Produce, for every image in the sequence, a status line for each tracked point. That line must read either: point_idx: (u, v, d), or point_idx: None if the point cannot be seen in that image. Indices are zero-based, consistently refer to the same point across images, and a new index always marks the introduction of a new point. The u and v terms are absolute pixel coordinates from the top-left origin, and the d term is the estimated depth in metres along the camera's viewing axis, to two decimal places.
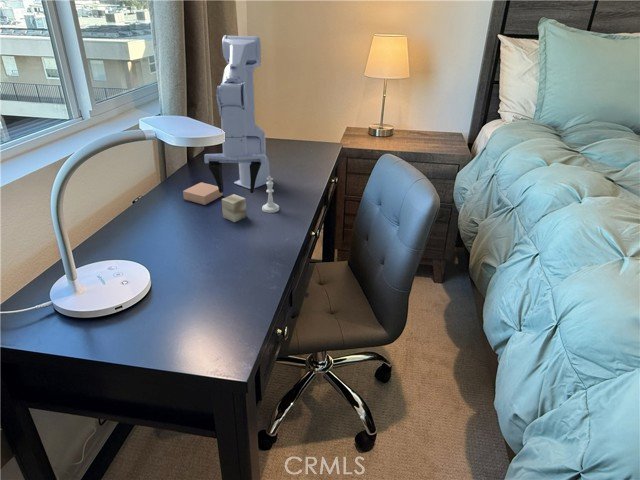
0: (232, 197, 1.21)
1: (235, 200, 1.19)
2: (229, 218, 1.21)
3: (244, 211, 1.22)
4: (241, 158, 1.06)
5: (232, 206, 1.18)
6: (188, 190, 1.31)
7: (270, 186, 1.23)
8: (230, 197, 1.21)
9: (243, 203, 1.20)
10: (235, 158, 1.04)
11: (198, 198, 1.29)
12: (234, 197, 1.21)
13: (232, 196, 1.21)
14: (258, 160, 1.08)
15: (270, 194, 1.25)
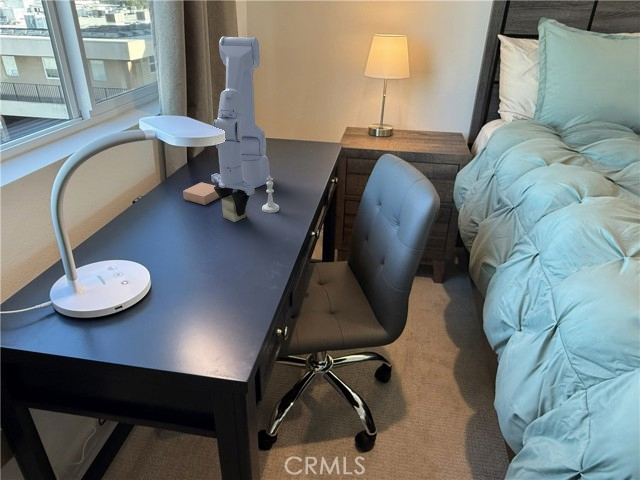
0: None
1: None
2: (229, 218, 1.20)
3: None
4: (229, 186, 1.15)
5: (232, 206, 1.18)
6: (188, 190, 1.31)
7: (270, 186, 1.23)
8: (230, 197, 1.20)
9: None
10: (222, 186, 1.14)
11: (198, 198, 1.29)
12: None
13: None
14: None
15: (270, 194, 1.25)
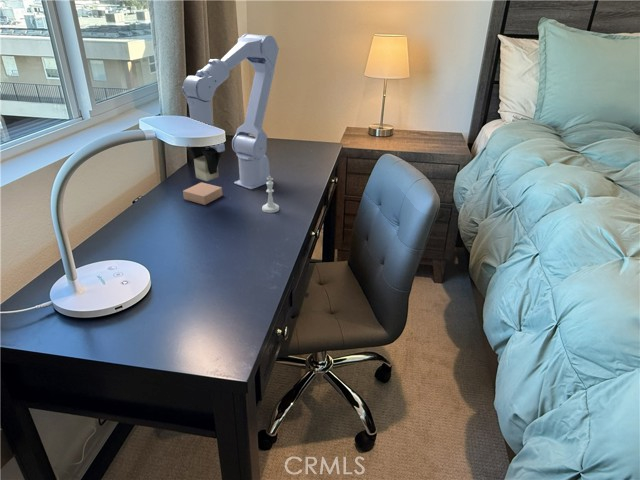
0: (204, 157, 1.25)
1: None
2: (201, 177, 1.25)
3: None
4: None
5: (203, 165, 1.22)
6: (188, 190, 1.31)
7: (270, 186, 1.23)
8: (202, 157, 1.25)
9: None
10: None
11: (198, 198, 1.29)
12: None
13: (204, 156, 1.26)
14: (217, 148, 1.19)
15: (270, 194, 1.25)
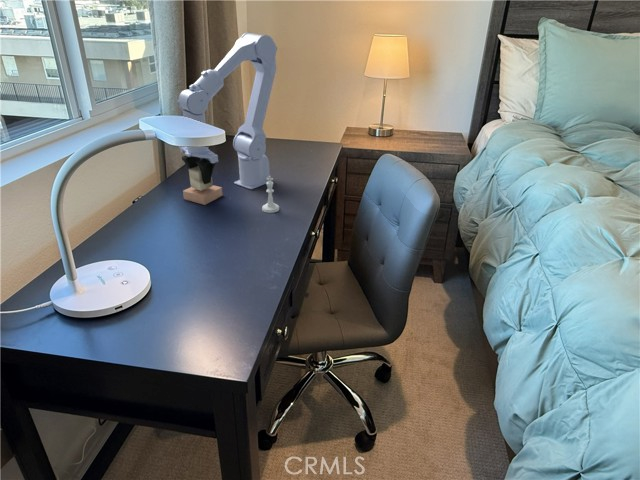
0: (198, 167, 1.30)
1: None
2: (196, 187, 1.30)
3: None
4: (195, 155, 1.24)
5: (197, 175, 1.27)
6: (188, 190, 1.31)
7: (270, 186, 1.23)
8: (196, 167, 1.30)
9: None
10: (188, 155, 1.24)
11: (198, 198, 1.29)
12: None
13: (198, 166, 1.31)
14: None
15: (270, 194, 1.25)
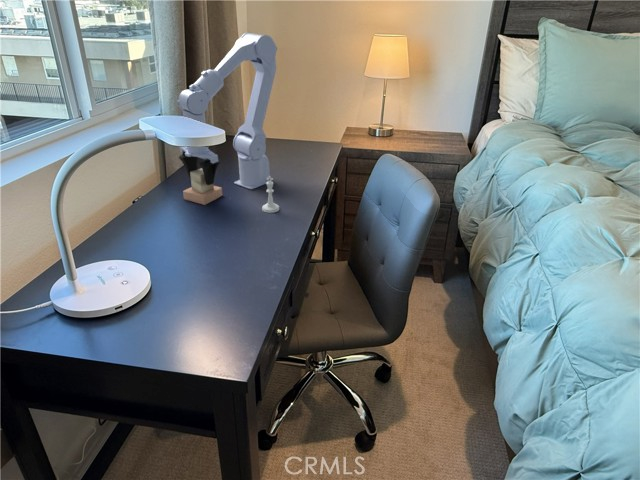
0: (200, 170, 1.31)
1: (202, 172, 1.29)
2: (197, 189, 1.30)
3: None
4: (195, 155, 1.24)
5: (199, 178, 1.28)
6: (188, 190, 1.31)
7: (270, 186, 1.23)
8: (198, 170, 1.30)
9: None
10: (188, 155, 1.24)
11: (198, 198, 1.29)
12: (202, 170, 1.30)
13: (200, 169, 1.31)
14: None
15: (270, 194, 1.25)
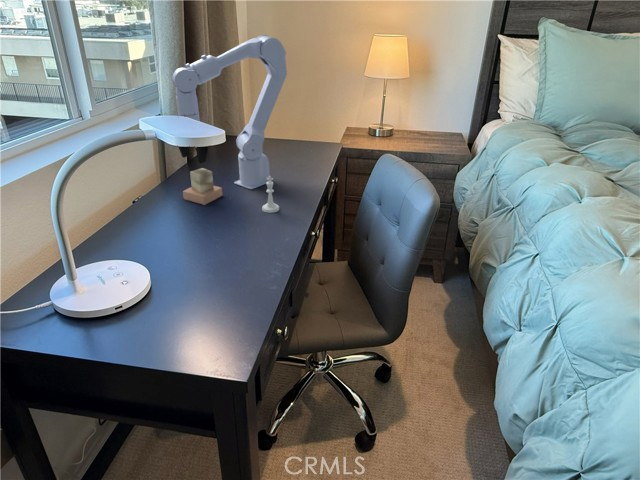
0: (200, 170, 1.31)
1: (202, 172, 1.29)
2: (196, 189, 1.30)
3: (211, 183, 1.31)
4: None
5: (198, 178, 1.28)
6: (188, 190, 1.31)
7: (270, 186, 1.23)
8: (198, 170, 1.30)
9: (209, 176, 1.30)
10: None
11: (198, 198, 1.29)
12: (202, 170, 1.31)
13: (200, 169, 1.31)
14: None
15: (270, 194, 1.25)
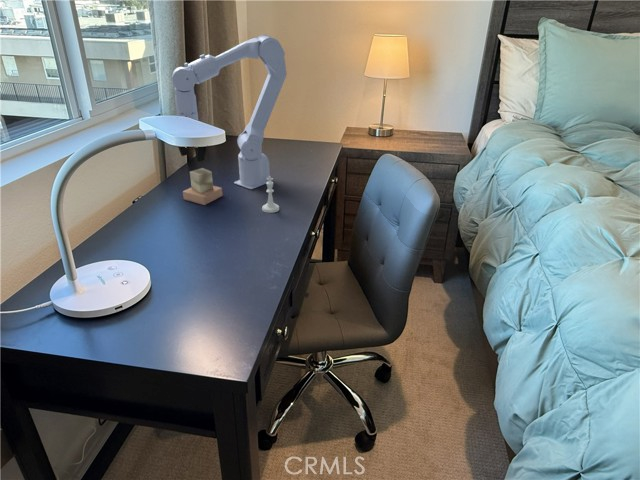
0: (200, 170, 1.31)
1: (201, 172, 1.29)
2: (196, 189, 1.30)
3: (210, 184, 1.31)
4: None
5: (198, 178, 1.28)
6: (188, 190, 1.31)
7: (270, 186, 1.23)
8: (198, 170, 1.30)
9: (209, 176, 1.30)
10: None
11: (198, 198, 1.29)
12: (201, 170, 1.30)
13: (200, 169, 1.31)
14: None
15: (270, 194, 1.25)
